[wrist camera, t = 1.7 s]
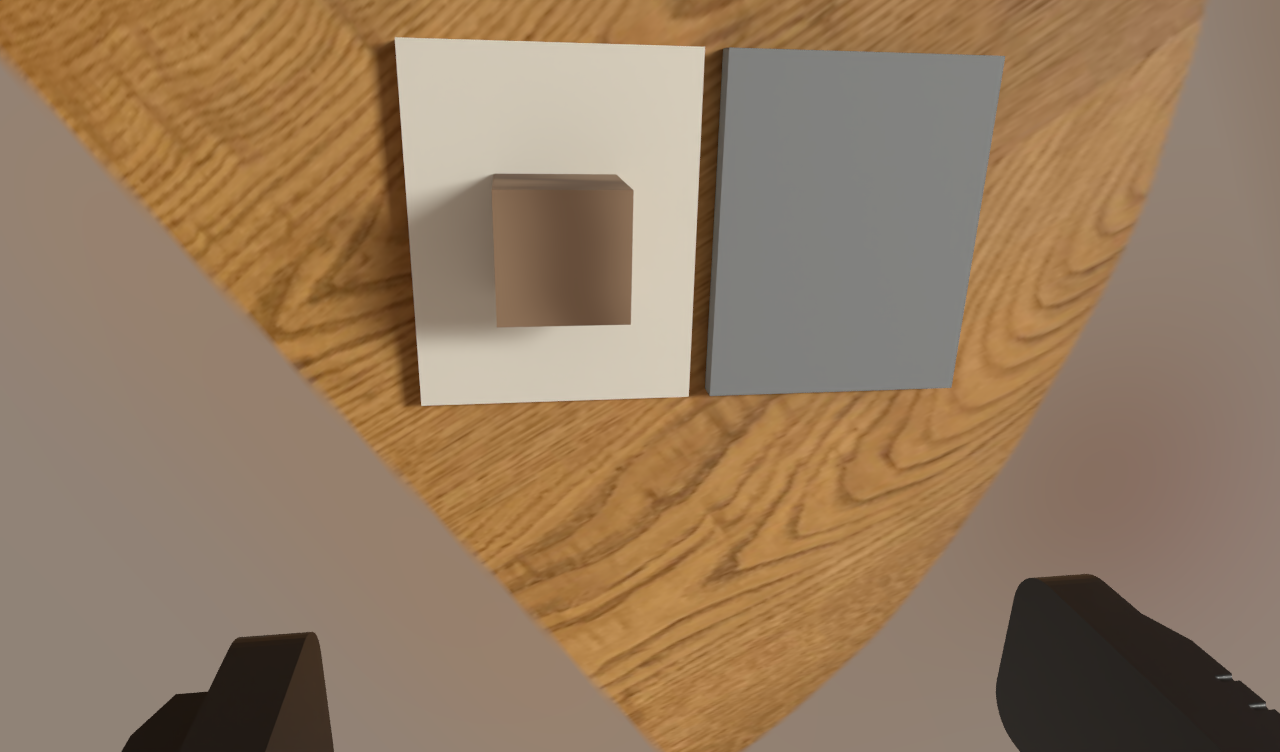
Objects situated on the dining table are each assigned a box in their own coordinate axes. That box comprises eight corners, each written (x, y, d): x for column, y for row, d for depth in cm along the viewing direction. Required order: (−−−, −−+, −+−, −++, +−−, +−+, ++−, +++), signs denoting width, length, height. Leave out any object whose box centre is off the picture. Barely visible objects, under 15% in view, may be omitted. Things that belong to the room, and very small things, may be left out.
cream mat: (423, 397, 37) (421, 405, 36) (397, 38, 32) (394, 37, 31) (684, 388, 39) (688, 396, 38) (699, 47, 34) (704, 46, 33)
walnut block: (498, 293, 35) (496, 327, 30) (493, 173, 33) (491, 189, 29) (614, 292, 36) (631, 324, 31) (616, 174, 34) (633, 190, 29)
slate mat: (705, 388, 39) (709, 395, 38) (723, 48, 34) (729, 47, 33) (940, 380, 41) (951, 387, 40) (992, 56, 36) (1005, 56, 35)
